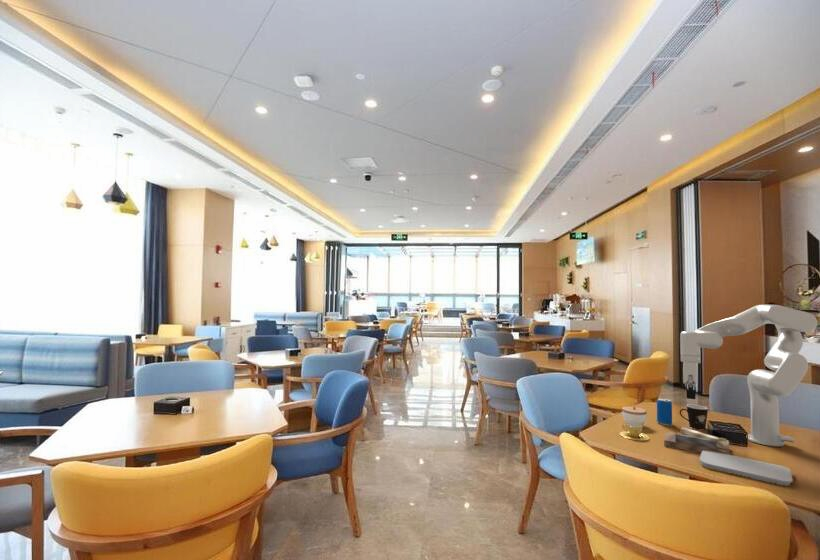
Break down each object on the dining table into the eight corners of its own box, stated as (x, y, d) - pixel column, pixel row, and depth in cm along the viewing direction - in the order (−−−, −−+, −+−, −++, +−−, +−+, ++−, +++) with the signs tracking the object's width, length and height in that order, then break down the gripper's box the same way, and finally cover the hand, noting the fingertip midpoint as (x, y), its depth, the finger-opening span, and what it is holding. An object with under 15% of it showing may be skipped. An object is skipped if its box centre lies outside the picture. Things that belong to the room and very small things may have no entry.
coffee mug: (707, 426, 199) (707, 406, 199) (709, 431, 191) (708, 410, 192) (679, 422, 205) (678, 402, 205) (679, 427, 198) (679, 406, 198)
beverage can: (674, 426, 199) (674, 401, 199) (660, 425, 200) (659, 400, 201) (668, 422, 205) (668, 398, 206) (654, 421, 206) (654, 397, 207)
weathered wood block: (727, 448, 170) (727, 435, 171) (729, 458, 160) (729, 444, 160) (666, 437, 183) (666, 424, 183) (664, 445, 172) (664, 433, 173)
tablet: (702, 454, 165) (702, 449, 165) (789, 473, 148) (789, 467, 148) (698, 467, 152) (698, 461, 152) (793, 489, 135) (793, 483, 135)
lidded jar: (621, 426, 198) (621, 406, 198) (622, 420, 207) (622, 402, 208) (646, 430, 193) (646, 410, 193) (647, 424, 202) (646, 405, 202)
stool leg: (729, 448, 163) (728, 439, 163) (724, 449, 162) (724, 440, 162) (684, 434, 179) (684, 426, 179) (680, 435, 178) (680, 427, 178)
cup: (652, 436, 185) (652, 424, 185) (645, 443, 176) (645, 431, 176) (623, 430, 193) (623, 419, 193) (616, 436, 184) (616, 424, 184)
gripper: (681, 355, 193) (682, 391, 192) (679, 360, 179) (680, 399, 178) (700, 357, 188) (701, 393, 188) (700, 362, 174) (701, 401, 174)
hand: (691, 396), depth 183 cm, fingers open, 9 cm apart
